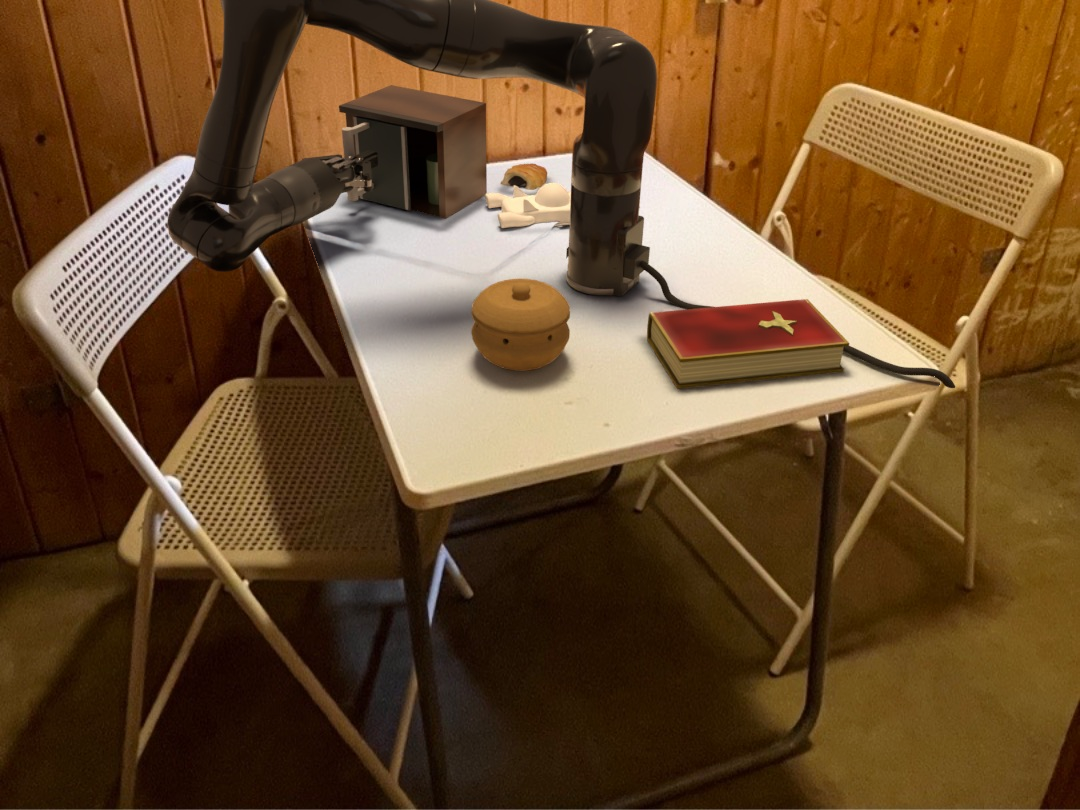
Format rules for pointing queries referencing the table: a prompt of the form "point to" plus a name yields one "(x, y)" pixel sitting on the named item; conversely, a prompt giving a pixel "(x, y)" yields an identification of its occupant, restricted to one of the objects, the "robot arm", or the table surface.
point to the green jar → (432, 179)
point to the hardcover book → (745, 343)
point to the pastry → (525, 176)
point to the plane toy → (532, 206)
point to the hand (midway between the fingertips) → (373, 157)
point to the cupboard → (433, 142)
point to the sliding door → (381, 160)
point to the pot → (520, 324)
